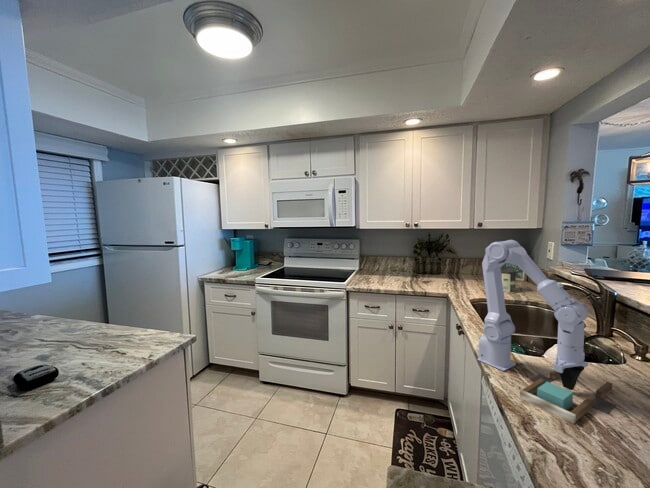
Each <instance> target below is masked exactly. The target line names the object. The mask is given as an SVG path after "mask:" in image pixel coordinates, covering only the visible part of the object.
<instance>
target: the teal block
mask: <svg viewBox="0 0 650 488" xmlns="http://www.w3.org/2000/svg"><path fill="white" fill-rule="evenodd" d="M573 395H574V392H573V390H569V389H567V388H565V387H562V386H559V385H556V384H554V383H552V382H546V383H544V384H543V385H541V386H540V387H539V388H537V392H536V396H537V397H539V398H541V399H543V400H545V401H547V402H550V403H552V404H554V405H556V406H558V407H560V408H562V409H564V410H567V411H568V409H570V408H571V407H572V406H573V399H574V396H573Z"/></svg>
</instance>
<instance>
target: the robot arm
mask: <svg viewBox="0 0 650 488" xmlns="http://www.w3.org/2000/svg"><path fill="white" fill-rule="evenodd" d="M505 264H509V265H510V264H511V265H514V266H517V267H518V268H520V270H522V272H523V273H525V274H526V275H527V277H529V279H530V280H531V281H533V282H534V283H535V284H536V292H537V293H538V294H539V295H540V296H541V297H542V298H543V300H544V301H545V302H546V303H547V304H548V305H549V306H550V307H551V309H552V310H553V311H555V312H553V314H554V317H555V319H556V320H557V322H558V323H557V342H556V343H557V348H556V355H555V361H554V363H553V369H552V371H553V370H554V371H557V372H559V374H560V377H559V378H560V380H561V385H562V386H563V387H562V388H564V389H567V390H569V391H573V390H575V387H576V384H577V382H578V380H579V378H580V377H579V376H580V375H581V374H582V372H583V371H584V370H585V368H586V367H588V366H589V362H587V361H585V356H586V354H585V352H584V346H585V344H584V343H585V342H584V341H585V320H586V319H587V318H589V317H588V316H589V310H588V308H587V307H586V305H585V304H584V303H582V302H580V301H578V300H577V299H576V298H575V297H574V298H573V297H572V296H571V295H570V294H569V293H568V292H567V291H566V290H565V289H564V285H563V284H562V282H560V283H558V281H556V280H554V279H549V278H548V277H547V276H546V275H545V273H544V272H543V271H542V270H541V269H540V267H539V266H538V265H537V264H536V263H535V262H534V261H533V259H532V258H531V257H530V255H528V252H527V250H526V249H525V248H524V247H523V246H522V245H520V243H519V242H518V241H516V240H514V239H507V240H504V241H503V240H502V241H494V242H491V243H490V244H489V245H488V246H487V247H485V254H484V256H483V260H482V262H481V266H482V267H481V268H482V273H483V281H484V289H485V290H484V291H485V298H486V305H487V315H486V316H485V318H484V325H483V328H482V332H483V334H482V335H481V337H480V338H479V341H478V358H477V361H479V362H482V363H484V364H486V365H489V366H490V367H493V368H496V369H497V370H500V371H502V372H505V371H508V370H509V369H510V368H513V367H515V366H516V365H517V363H516V362H514V361H511V358H512V357H511V355H512V354H511V353H512V352H511V351H512V336H513V335H514V334H515V332H516V327H515V324H514V323H513V321H512V318H511V315H510V314H509V313H508V312H507V309H506V301H505V293H504V292H503V285H502V277H501V267H503V266H504V265H505Z"/></svg>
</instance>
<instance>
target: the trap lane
mask: <svg viewBox="0 0 650 488" xmlns="http://www.w3.org/2000/svg"><path fill="white" fill-rule="evenodd" d="M558 378H561V377H560V374H559V372H557V371H554V370H553V369H552V370H551V371H550V372H549V376H546V375H543V374H542V373H538V374H536V375H534V376H533V377H531V378H529V381H531V382H532V383H531V384H529V385H528V386H526V387H524V388H523V389H521V390H520V391H519V399H521V400H524V401H526V402H528V403H530V404H532V405H533V406H536V407H538V408H540V409H542V410H544V411H547V412H548V413H550V414H552V415H554V416H557V417H558V418H560V419H562V420H564V421H566V422H568V423H571V424H573V425H574V424H575V423H577V422H578V421H579V420H580V419H581V418H582V417H583V416H584V415H585V414H587V413H588V412H590V410H591V409H592V408H594V409H597V410H598V411H601V412H603V413H606V414H609V413H610V412H611V411H612V410H613V409H614V408H615V407H616V406H617V404H616V403H613V402H611V401H608V400H607V399H606V400H605V399H604V398H605V397H606V396H607V395H608V394H609V393H611V392H612V391H613V385H614V384H613V383H612V382H609V381H606V382H604V383H603V384H602V385H601V386H600V387H598V388H597V389H596V391H595V398H593V399H592V398H589V397H587V398H585V399H583V401H582V402H580V404H578V405H577V406H576V407H574V409H573V408H572V410H571V411H569V410H568V409H567V410H564V409H562V408H560V407H558V406H556V405H554V404H552V403H550V402H547V401H545V400H543V399H541V398H539V397H537V395H534V394H537V388H539V387H540V386H541V385H543V384H544V383H546V382H549V383H552V381H555V380H556V379H558Z"/></svg>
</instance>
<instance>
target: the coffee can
mask: <svg viewBox="0 0 650 488" xmlns="http://www.w3.org/2000/svg"><path fill="white" fill-rule="evenodd" d="M500 269H501V268H500ZM516 272H517V270H514V269H501V277H502V285H503V292H504V294H514V293H516V283H517V282H516V279H517V278H516V277H517V275H516Z"/></svg>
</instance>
